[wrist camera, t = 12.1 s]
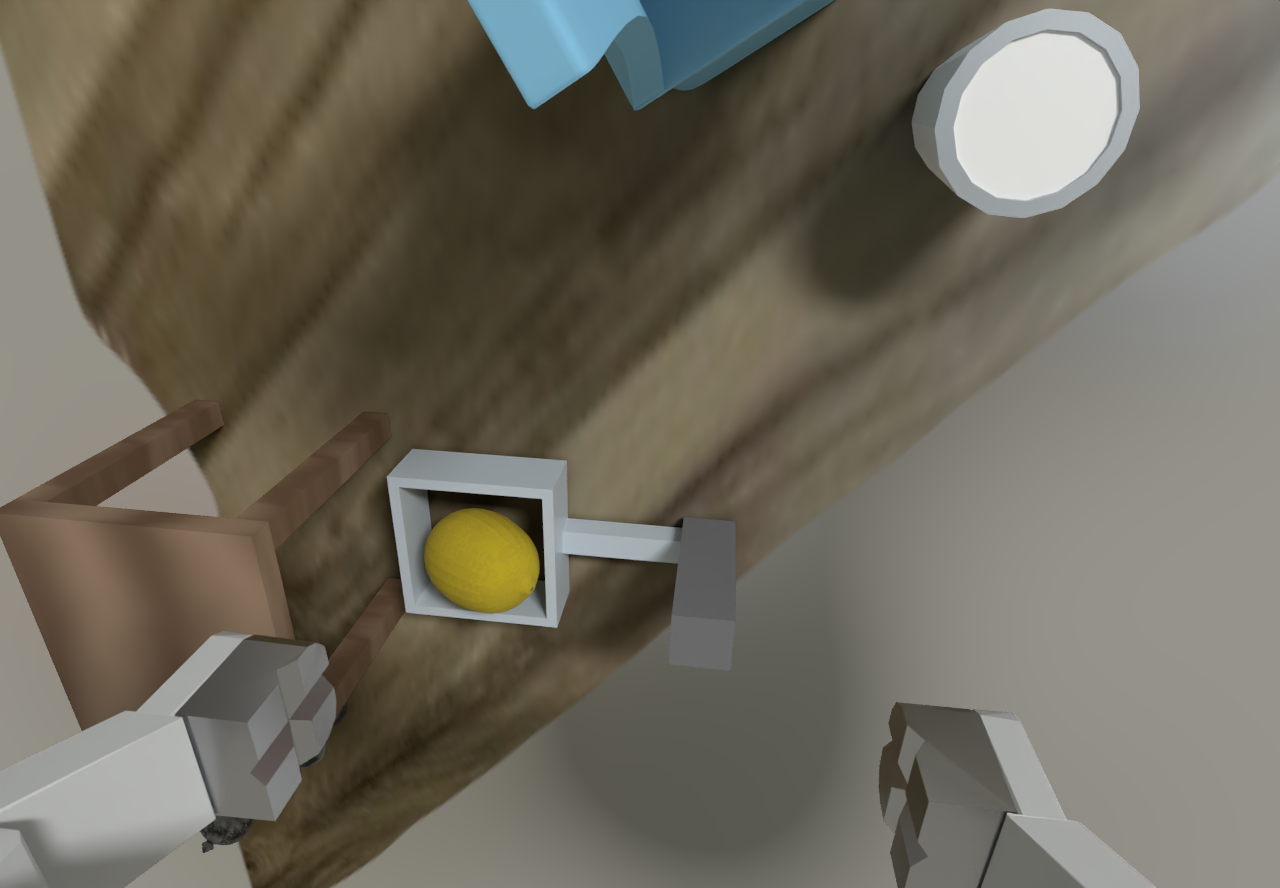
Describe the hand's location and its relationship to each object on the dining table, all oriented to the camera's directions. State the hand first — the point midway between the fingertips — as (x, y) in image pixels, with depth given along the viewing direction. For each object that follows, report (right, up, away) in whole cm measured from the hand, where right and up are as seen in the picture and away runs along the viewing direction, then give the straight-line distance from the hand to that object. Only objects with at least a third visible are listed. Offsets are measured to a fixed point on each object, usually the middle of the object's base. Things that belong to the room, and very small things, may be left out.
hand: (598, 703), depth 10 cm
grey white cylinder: (+16, +18, +22) cm, 33 cm away
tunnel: (-20, 0, +35) cm, 40 cm away
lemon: (-12, -1, +33) cm, 35 cm away
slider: (-3, -1, +33) cm, 33 cm away
